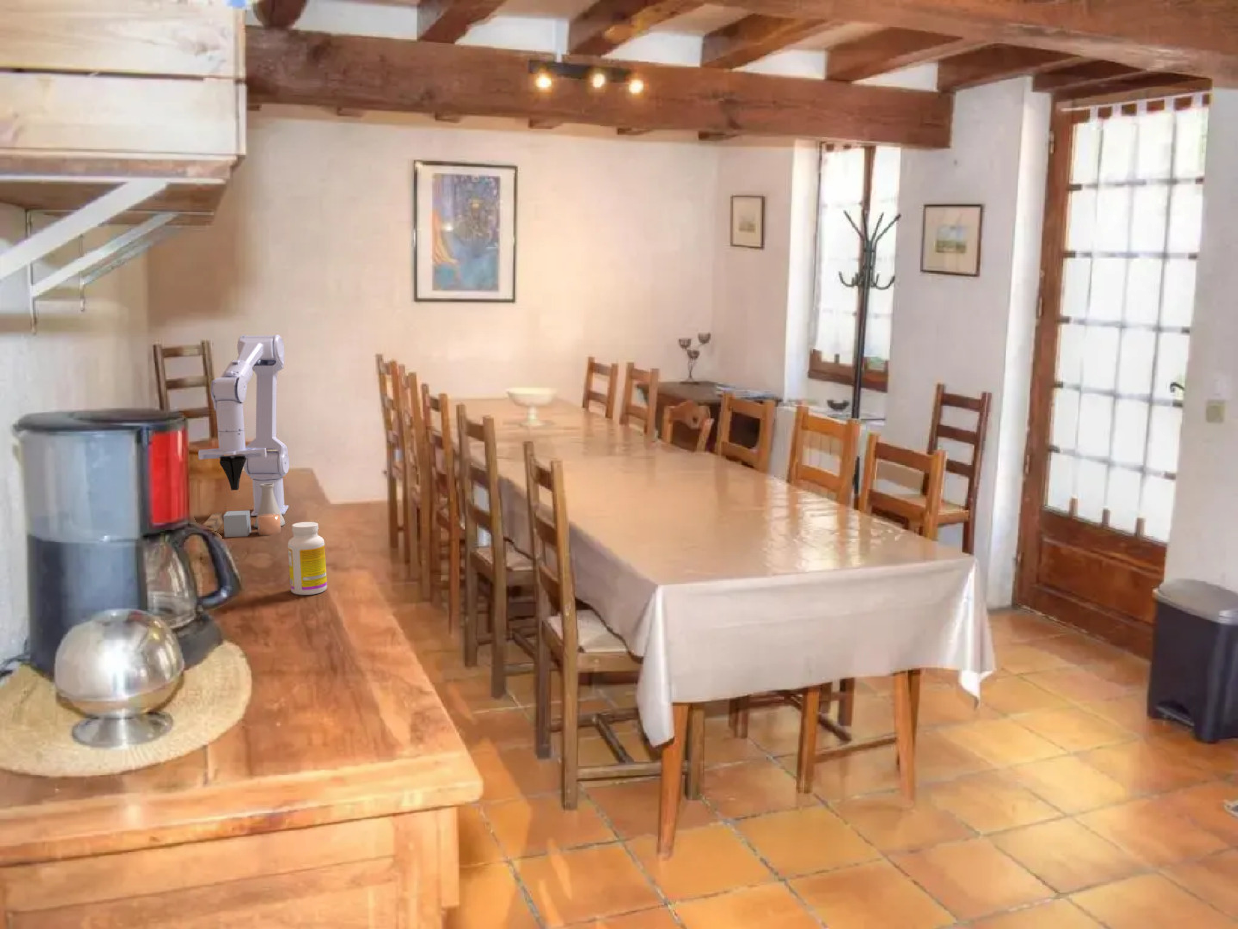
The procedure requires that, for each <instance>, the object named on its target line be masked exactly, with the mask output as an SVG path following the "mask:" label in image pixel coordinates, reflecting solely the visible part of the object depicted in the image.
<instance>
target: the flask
mask: <svg viewBox="0 0 1238 929" xmlns="http://www.w3.org/2000/svg"><path fill="white" fill-rule="evenodd" d="M260 487H261V488H262V497H261V503H260V507H259V511H258V514H257V516H259V515H262V514H279V515H280V524H281V527H282V526H285V524H286V521H285V519H284V516H283V515H282V514H281V512H280V510H279V507H278V505H277V503H276V500H275V497H274V493H273V487H274V484H273V483H264V484H261V485H260ZM257 516H256V518H255V522H254V525H253V528H258V520H257Z"/></svg>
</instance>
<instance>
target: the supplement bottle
mask: <svg viewBox="0 0 1238 929" xmlns="http://www.w3.org/2000/svg"><path fill="white" fill-rule="evenodd" d="M291 532H292V534H293V537H291V538H290V539H289V540H288V542H287V551H288V552H287V553H288V554H287V555H288V569H289V584H290V591H291V593H293V594H294V595H299V596H312V595H317V594H320V593H322V592H323V593H324V592H325V591H326V590H327V588H328V580H327V566H326V565H327V564H326V561H327V560H326V548H325V546H326V544H325V539H324V538H323V537H322V536H320V535H319V534H318V532H319V523H318V522H314V521H304V522H303V521H301V522H296V523H292V525H291Z"/></svg>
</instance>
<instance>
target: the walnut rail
mask: <svg viewBox="0 0 1238 929" xmlns="http://www.w3.org/2000/svg"><path fill="white" fill-rule="evenodd" d="M222 524H224V519H223V512H215V513H211V515H210V516H209V517H208V518H207V520H206V521H205V522H204V523H203V524H202V525H204V526H207V527H209V528H213V529H214V530H215V531H216V532H217V531H218V529H219V528H220V527H221V526H222Z"/></svg>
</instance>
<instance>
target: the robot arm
mask: <svg viewBox="0 0 1238 929" xmlns="http://www.w3.org/2000/svg"><path fill="white" fill-rule="evenodd" d="M283 340H284V339H283V338H282V337H281V335H280V334H273V335H272V334H267V335H265V334H264V335H263V334H259V335H257V334H256V335H253V334H252V335H250V334H249V335H246V334H242V335H240V336H239V338H238V340H237V345H236V346H237V354H238V356H237V358H236V359H233V360H231V361H230V362H229V363H228V365H227V367H226V369H225V370H224V372H223V373H222V374H221V376H220V377H219V376H218V377H216V378H215V379H213V380H212V381H211V384H210V390H209V391H210V396H211V400H212V404H213V409H214V411H216V424H217V426H216V427H217V440H218V448H209V449H198V460H208V459H209V460H212V459H213V460H214V459H219V464H220V465H219V466H220V467H221V468H222V469H223V472H224V474H225V475H226V477H227V480H228V482H229V487H230V490H231V491H238V490H239V488H240V481H241V476H242V472H243V470H244V472H245V474H246V475H247V476H248V477H249V479H250V480H252V482H251V483H252V495H253V497H252V498H253V510H252V511H251V512H250V517H253V516H254V517H255V516H256V517H257V514H258V511H259V507H260V503H261V497H262V488H261V487H260V485H261V484H264V483H273V484H274V487H273V493H274V497H275V500H276V503H277V505H278V507H279V510H280V512H281V514H282V516H283V515H285V514H286V512H287V510H288V508H290V507H289V505H287V504H285V492H284V479H283V477H285V476H286V475H287V473H288V472H289V469H290V458H289V453H288V452H289V449H288V447H287V445H286V444H285V443H284V442H282V441H281V440H280V439H279V438H278V437H277V399H278V398H277V396H278V395H277V393H278V392H277V391H278V388H277V386H278V384H277V381H278V372H280V371H281V370H283V369H284V365H285V344H284V341H283ZM253 372H254V373H255V375H256V390H255V391H256V392H255V394H256V398H255V399H256V406H255V407H256V408H255V410H256V411H255V413H256V414H255V415H256V416H255V417H256V418H255V438H254V439H252V440H251V441H250V442H249V443H248V444H246V434H245V420H244V418H245V417H244V405H243V404H244V402H245V401H246V399H247V398H246V397H247V391H248V384H249V382H250V381H251V379H252V377H253V374H254V373H253Z"/></svg>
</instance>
